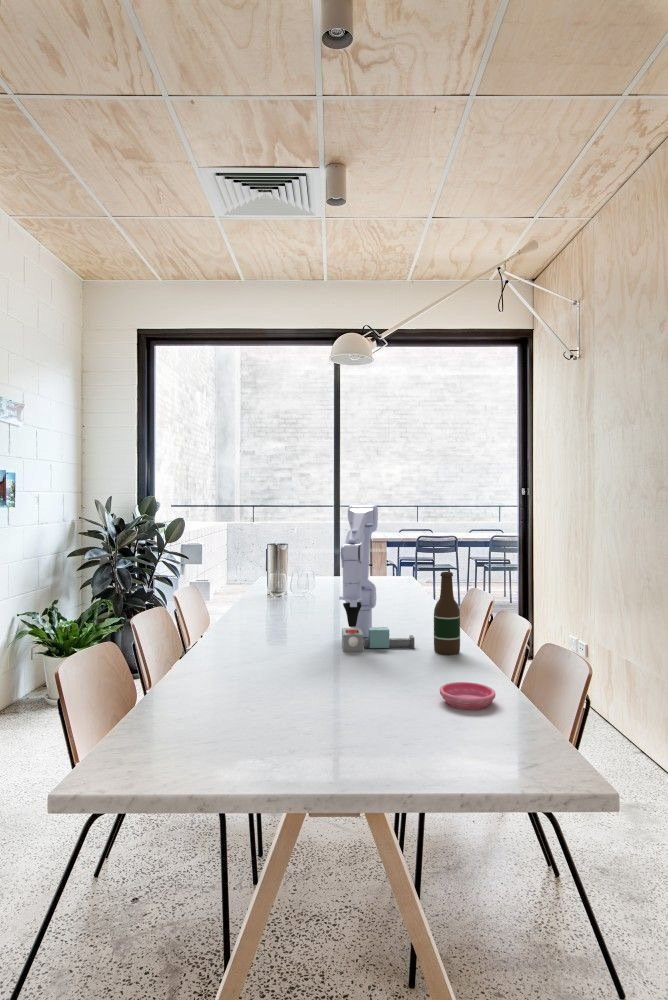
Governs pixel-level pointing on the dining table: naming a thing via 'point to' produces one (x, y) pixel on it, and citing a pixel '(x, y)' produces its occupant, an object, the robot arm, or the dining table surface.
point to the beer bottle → (446, 619)
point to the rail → (397, 642)
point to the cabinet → (352, 640)
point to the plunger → (352, 630)
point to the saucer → (467, 695)
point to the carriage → (379, 637)
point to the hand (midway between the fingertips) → (352, 626)
